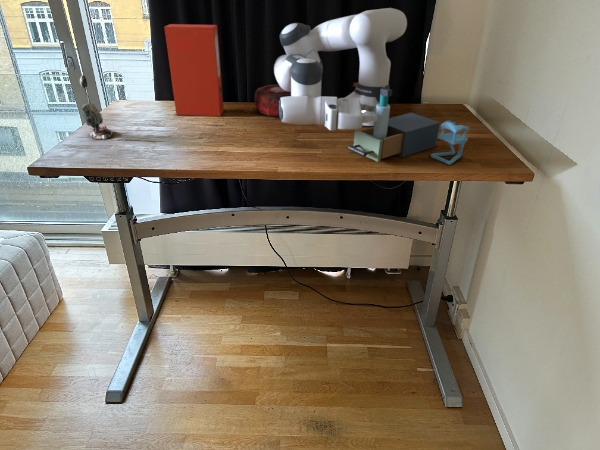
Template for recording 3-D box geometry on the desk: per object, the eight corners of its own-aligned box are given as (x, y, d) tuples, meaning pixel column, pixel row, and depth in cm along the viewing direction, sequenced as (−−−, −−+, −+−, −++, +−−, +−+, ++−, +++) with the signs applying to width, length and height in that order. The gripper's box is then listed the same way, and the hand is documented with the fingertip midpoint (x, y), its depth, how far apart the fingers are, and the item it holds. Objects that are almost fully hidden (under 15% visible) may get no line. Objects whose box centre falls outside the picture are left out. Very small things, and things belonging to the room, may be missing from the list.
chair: (466, 159, 137) (475, 122, 131) (449, 165, 133) (457, 127, 127) (447, 151, 143) (455, 115, 136) (430, 156, 139) (437, 120, 132)
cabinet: (402, 157, 138) (406, 132, 133) (374, 145, 146) (377, 121, 142) (435, 146, 146) (440, 122, 142) (407, 135, 155) (411, 112, 150)
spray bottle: (368, 148, 139) (375, 88, 129) (378, 145, 141) (385, 86, 131) (378, 152, 136) (385, 91, 126) (387, 149, 138) (395, 89, 128)
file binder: (181, 109, 177) (170, 23, 160) (223, 110, 177) (217, 24, 160) (176, 115, 170) (164, 26, 153) (220, 116, 170) (212, 27, 153)
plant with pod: (81, 142, 145) (64, 81, 134) (95, 130, 154) (81, 72, 144) (105, 142, 145) (90, 81, 134) (118, 131, 154) (105, 73, 144)
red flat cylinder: (313, 111, 177) (281, 100, 189) (314, 90, 173) (280, 80, 185) (277, 121, 165) (244, 109, 177) (277, 99, 161) (243, 88, 173)
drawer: (367, 165, 130) (369, 144, 127) (342, 153, 138) (344, 133, 134) (411, 151, 140) (414, 131, 137) (386, 140, 148) (388, 121, 144)
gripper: (330, 111, 144) (372, 112, 143) (330, 132, 126) (377, 134, 126) (331, 92, 140) (374, 93, 140) (331, 111, 123) (380, 113, 122)
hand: (375, 113), depth 133 cm, fingers open, 8 cm apart
